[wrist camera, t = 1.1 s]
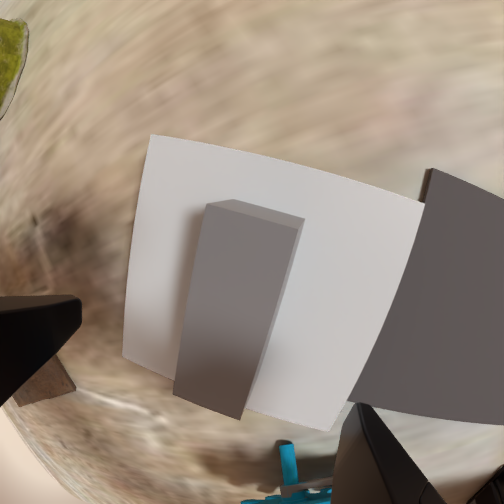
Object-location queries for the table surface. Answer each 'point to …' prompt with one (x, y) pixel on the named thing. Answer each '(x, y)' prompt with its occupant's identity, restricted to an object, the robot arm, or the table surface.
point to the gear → (296, 484)
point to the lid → (260, 279)
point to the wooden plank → (45, 384)
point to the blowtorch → (11, 58)
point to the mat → (445, 314)
